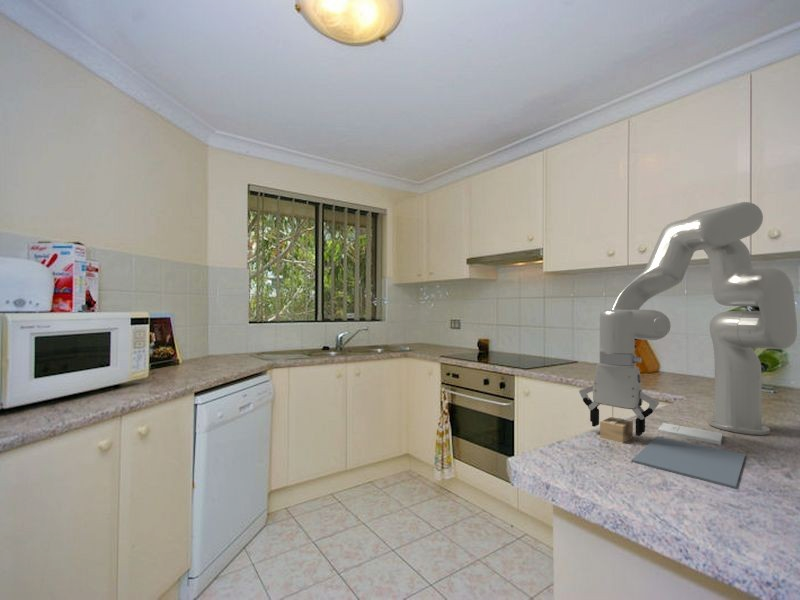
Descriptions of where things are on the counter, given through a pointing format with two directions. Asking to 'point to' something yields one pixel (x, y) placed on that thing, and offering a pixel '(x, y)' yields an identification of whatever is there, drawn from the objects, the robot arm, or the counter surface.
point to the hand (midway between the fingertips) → (616, 429)
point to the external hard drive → (691, 433)
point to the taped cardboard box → (616, 429)
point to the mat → (692, 461)
